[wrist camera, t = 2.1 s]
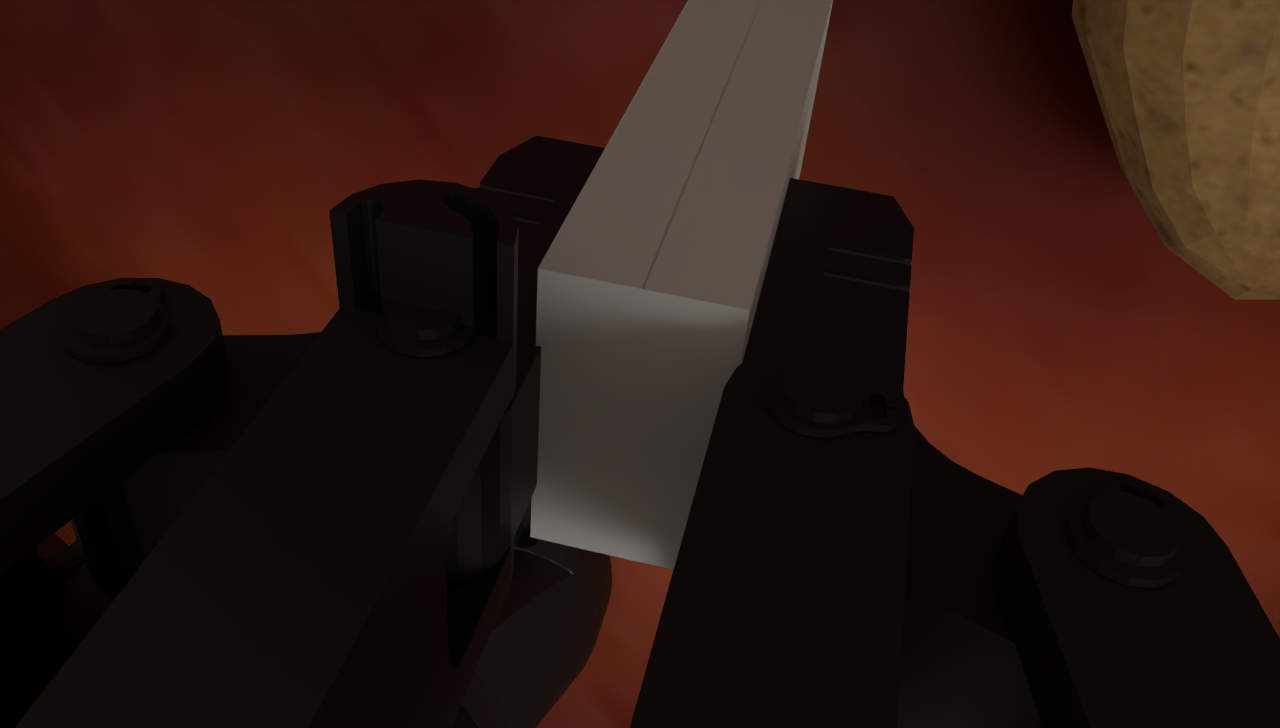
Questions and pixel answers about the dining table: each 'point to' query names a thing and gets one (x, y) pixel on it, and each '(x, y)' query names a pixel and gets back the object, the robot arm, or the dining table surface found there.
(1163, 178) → the potato
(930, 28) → the dining table surface
